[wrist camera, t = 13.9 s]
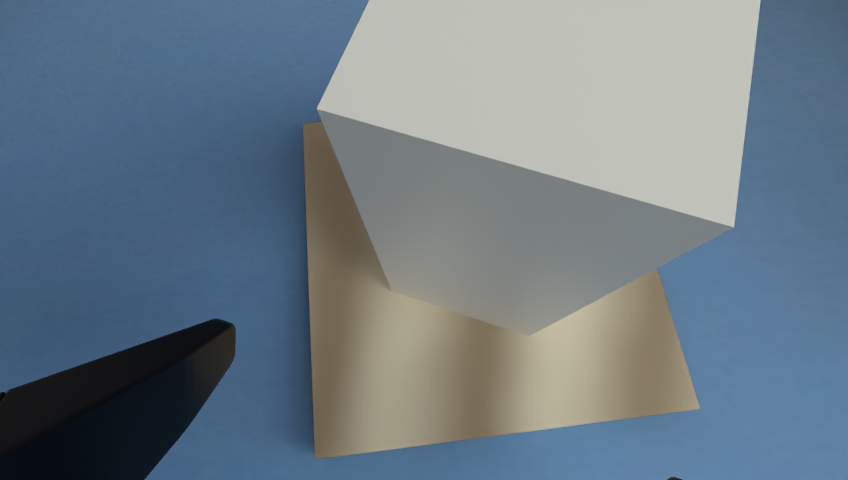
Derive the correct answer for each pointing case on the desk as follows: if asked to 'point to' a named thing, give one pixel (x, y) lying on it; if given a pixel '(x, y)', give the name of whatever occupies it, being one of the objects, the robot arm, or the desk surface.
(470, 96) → the tall white pillar
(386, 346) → the post stand
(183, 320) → the desk surface
